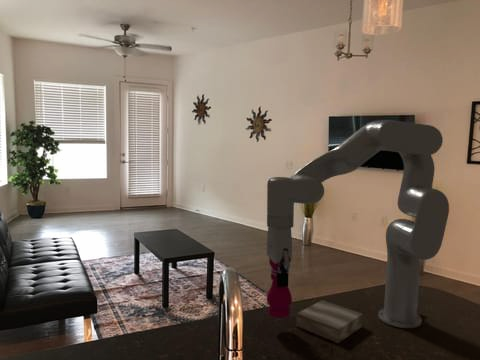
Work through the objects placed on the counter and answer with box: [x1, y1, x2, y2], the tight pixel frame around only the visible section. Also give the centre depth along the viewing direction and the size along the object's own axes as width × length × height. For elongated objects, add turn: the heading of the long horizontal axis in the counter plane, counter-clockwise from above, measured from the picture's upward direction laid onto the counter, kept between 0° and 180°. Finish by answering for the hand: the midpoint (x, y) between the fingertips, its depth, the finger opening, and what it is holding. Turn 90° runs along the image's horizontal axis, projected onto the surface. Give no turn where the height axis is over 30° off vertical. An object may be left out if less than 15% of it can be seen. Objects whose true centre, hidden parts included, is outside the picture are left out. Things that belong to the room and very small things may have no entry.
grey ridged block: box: [295, 299, 364, 344], centre depth 123 cm, size 14×14×4 cm
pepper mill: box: [266, 258, 293, 319], centre depth 119 cm, size 7×7×20 cm
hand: (279, 282), depth 119 cm, fingers closed on pepper mill, 5 cm apart
